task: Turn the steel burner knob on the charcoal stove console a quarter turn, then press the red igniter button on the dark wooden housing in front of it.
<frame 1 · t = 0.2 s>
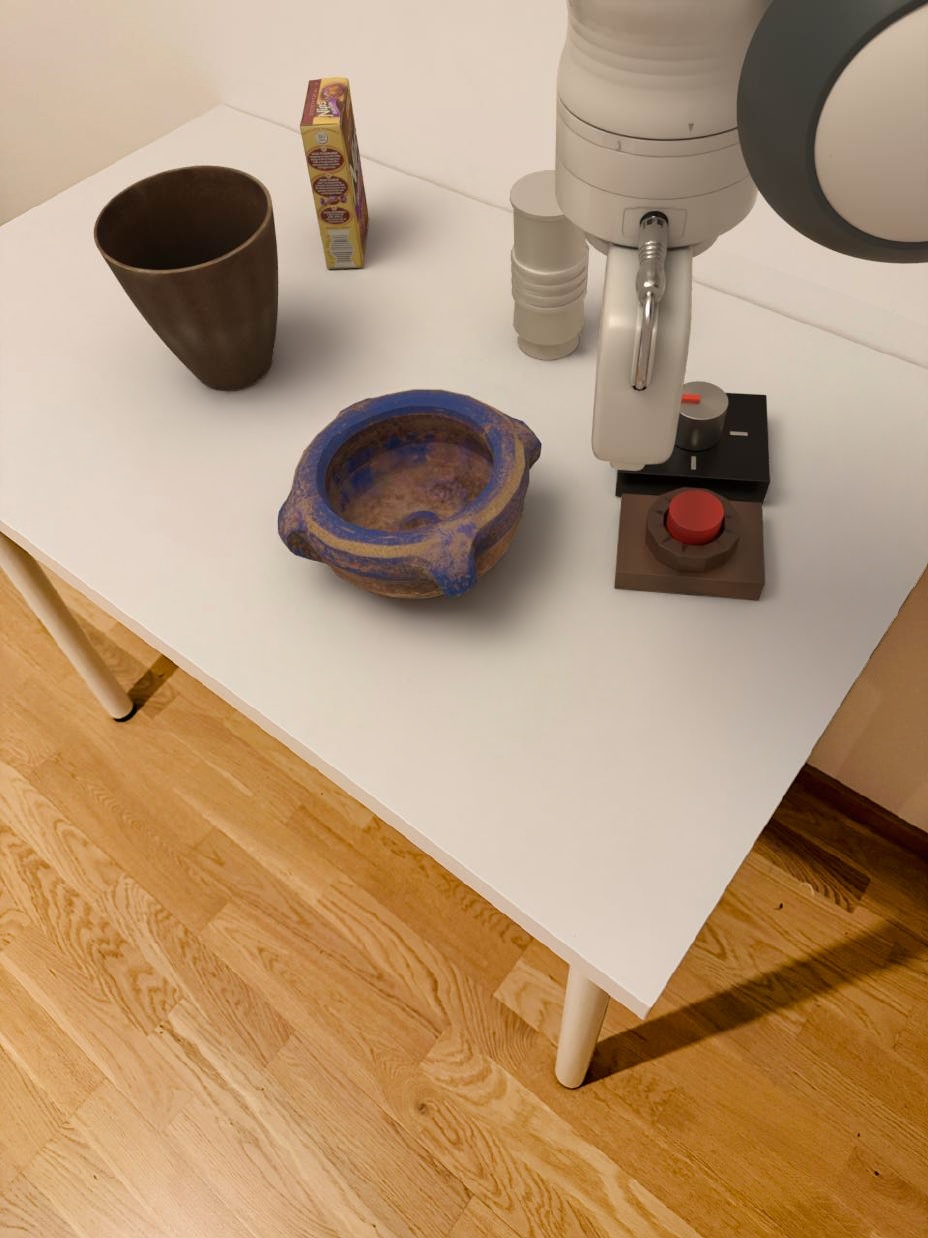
hand: (631, 398, 50), 23 cm above the table, tool pointing down, fingers open, 8 cm apart
flower pot: (236, 367, 89), on the table
burner knob: (697, 414, 74), point 5 cm above the table, hinge at 0.0°
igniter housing: (686, 553, 72), on the table
stove console: (689, 457, 78), on the table
bowl: (420, 544, 75), on the table
candy box: (350, 246, 98), on the table
igniter button: (694, 517, 68), point 4 cm above the table, slide at 0.1 cm
beige ribbed cylinder: (548, 340, 88), on the table
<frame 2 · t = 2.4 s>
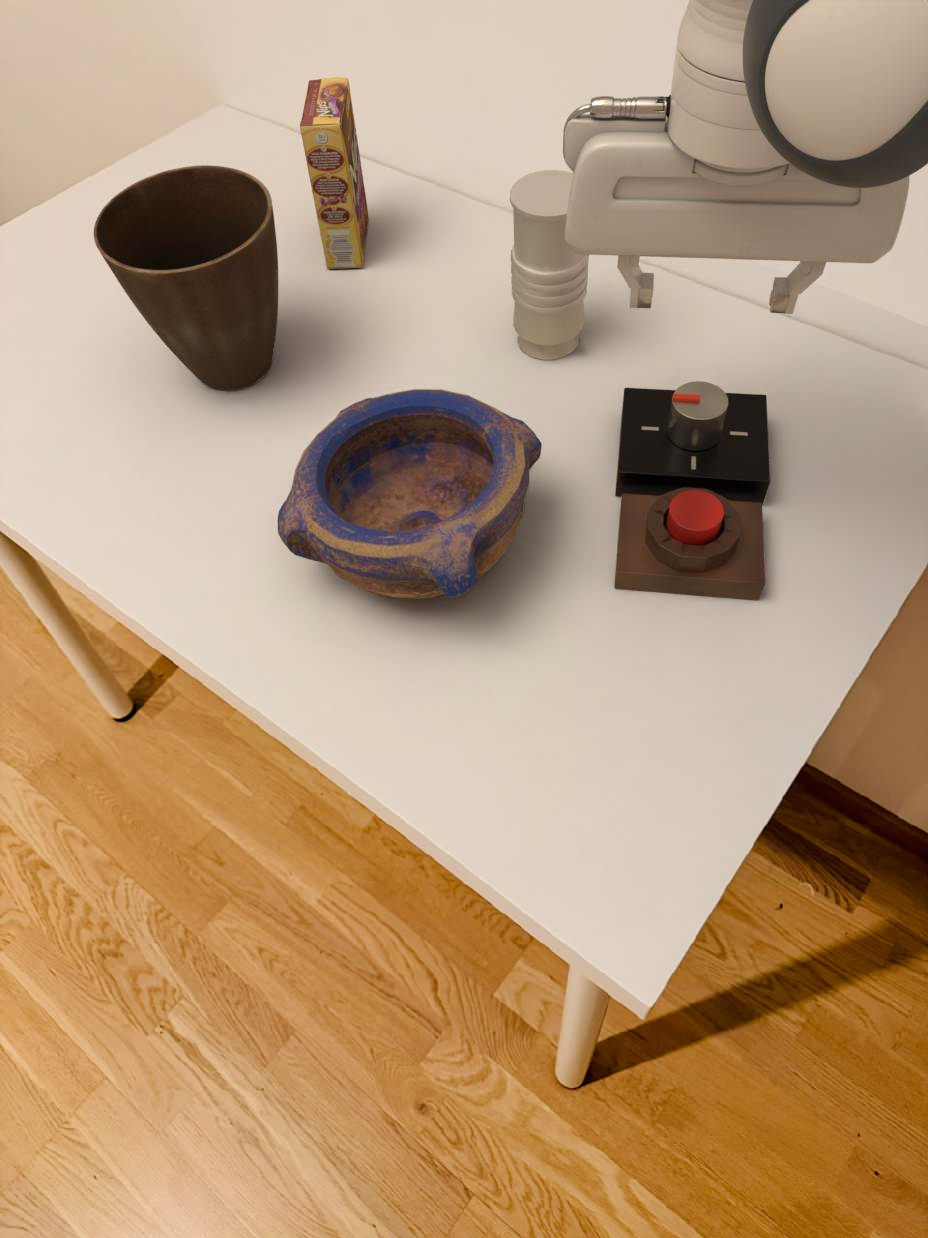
hand: (709, 305, 62), 17 cm above the table, tool pointing down, fingers open, 8 cm apart
nothing on the table moved.
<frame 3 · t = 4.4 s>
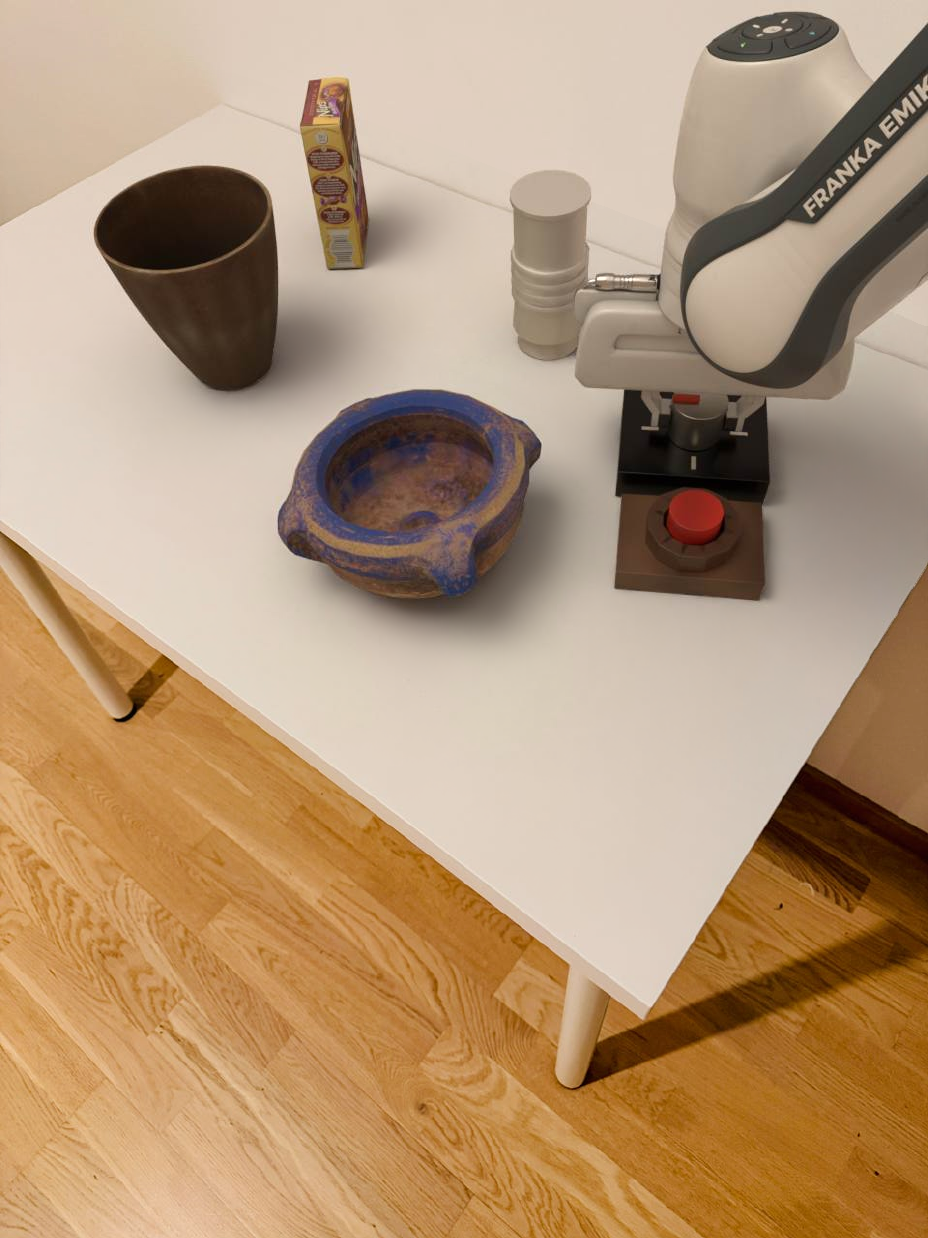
hand: (696, 424, 74), 4 cm above the table, tool pointing down, fingers closed on burner knob, 4 cm apart
burner knob: (697, 414, 74), point 5 cm above the table, hinge at -0.2°, touching gripper
everything else where it was.
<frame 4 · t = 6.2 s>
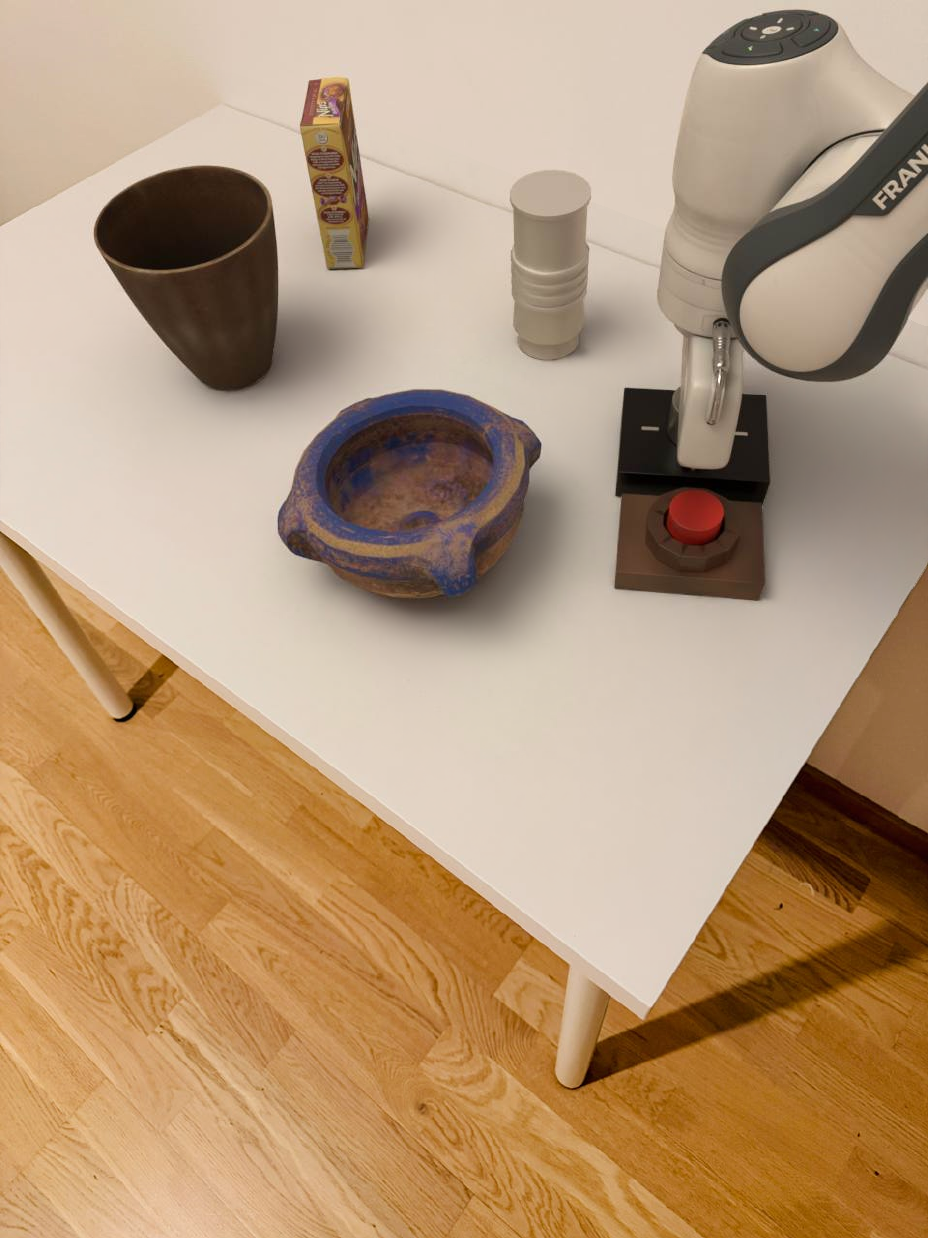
hand: (695, 423, 74), 4 cm above the table, tool pointing down, fingers closed on burner knob, 4 cm apart
burner knob: (697, 414, 74), point 5 cm above the table, hinge at 87.9°, touching gripper
everything else where it was.
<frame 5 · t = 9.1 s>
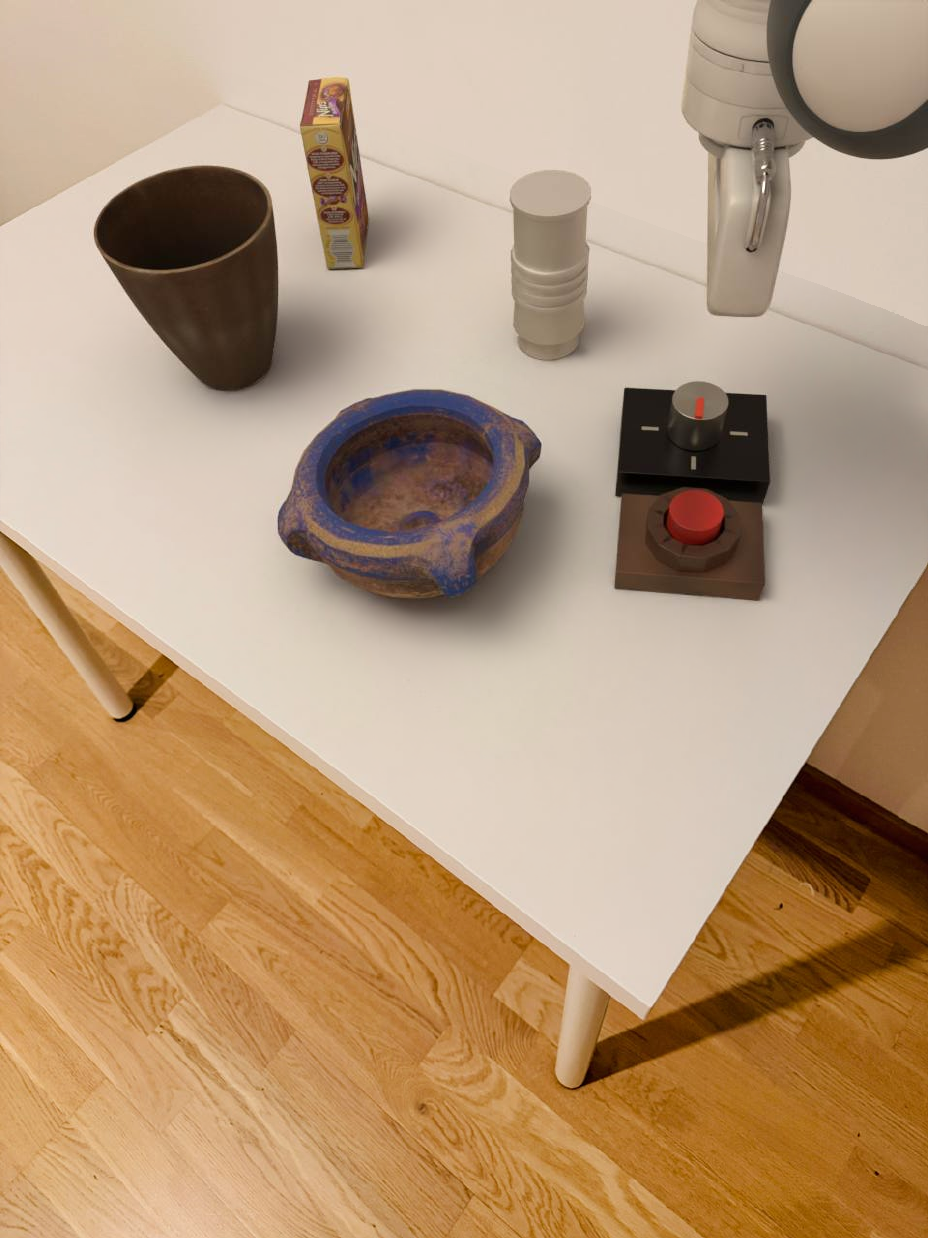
hand: (722, 285, 63), 17 cm above the table, tool pointing down, fingers closed
burner knob: (697, 414, 74), point 5 cm above the table, hinge at 86.7°
everything else where it was.
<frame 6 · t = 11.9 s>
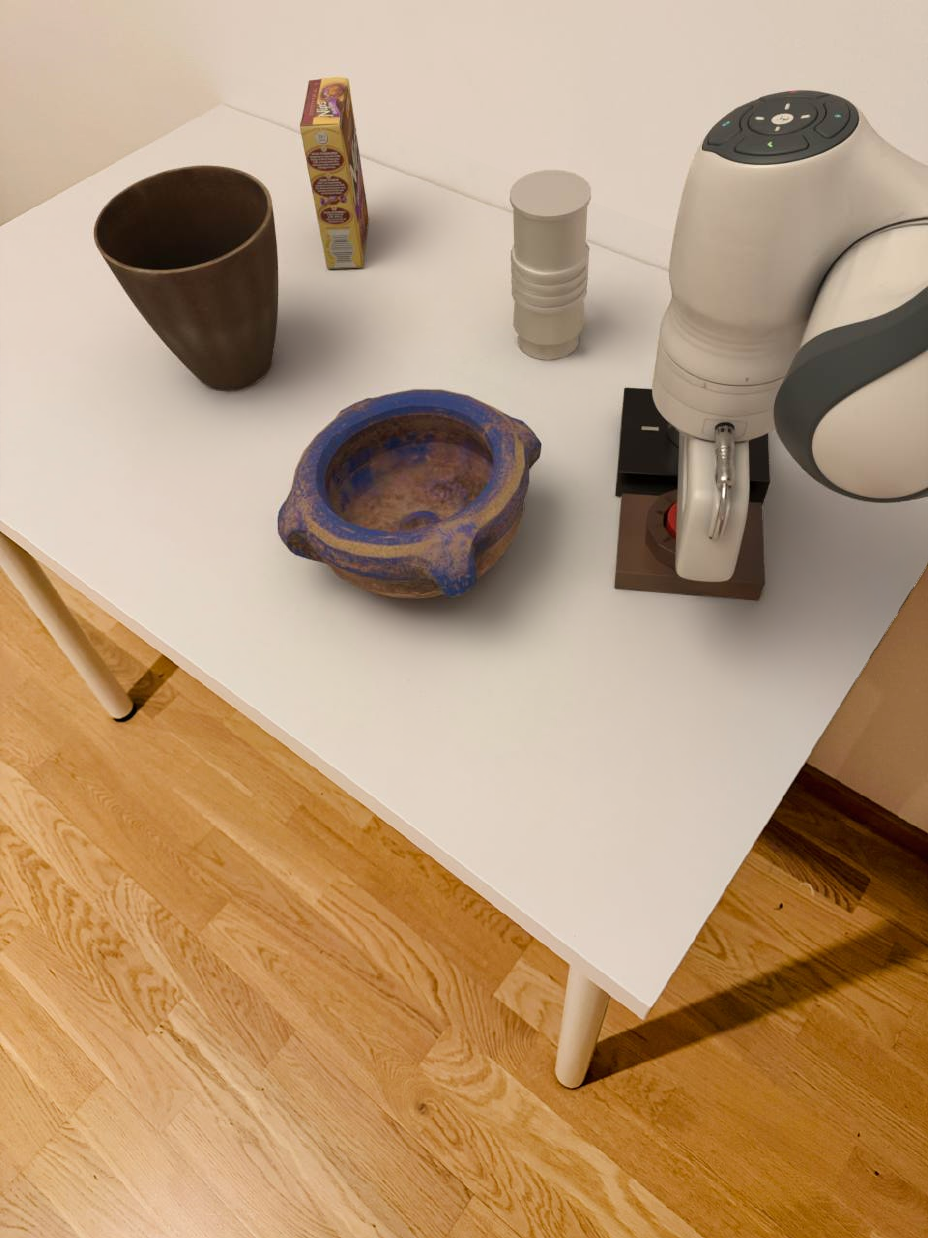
hand: (693, 516, 68), 5 cm above the table, tool pointing down, fingers closed, pressing on igniter button
igniter button: (693, 524, 69), point 4 cm above the table, slide at -0.8 cm, touching gripper
everything else where it was.
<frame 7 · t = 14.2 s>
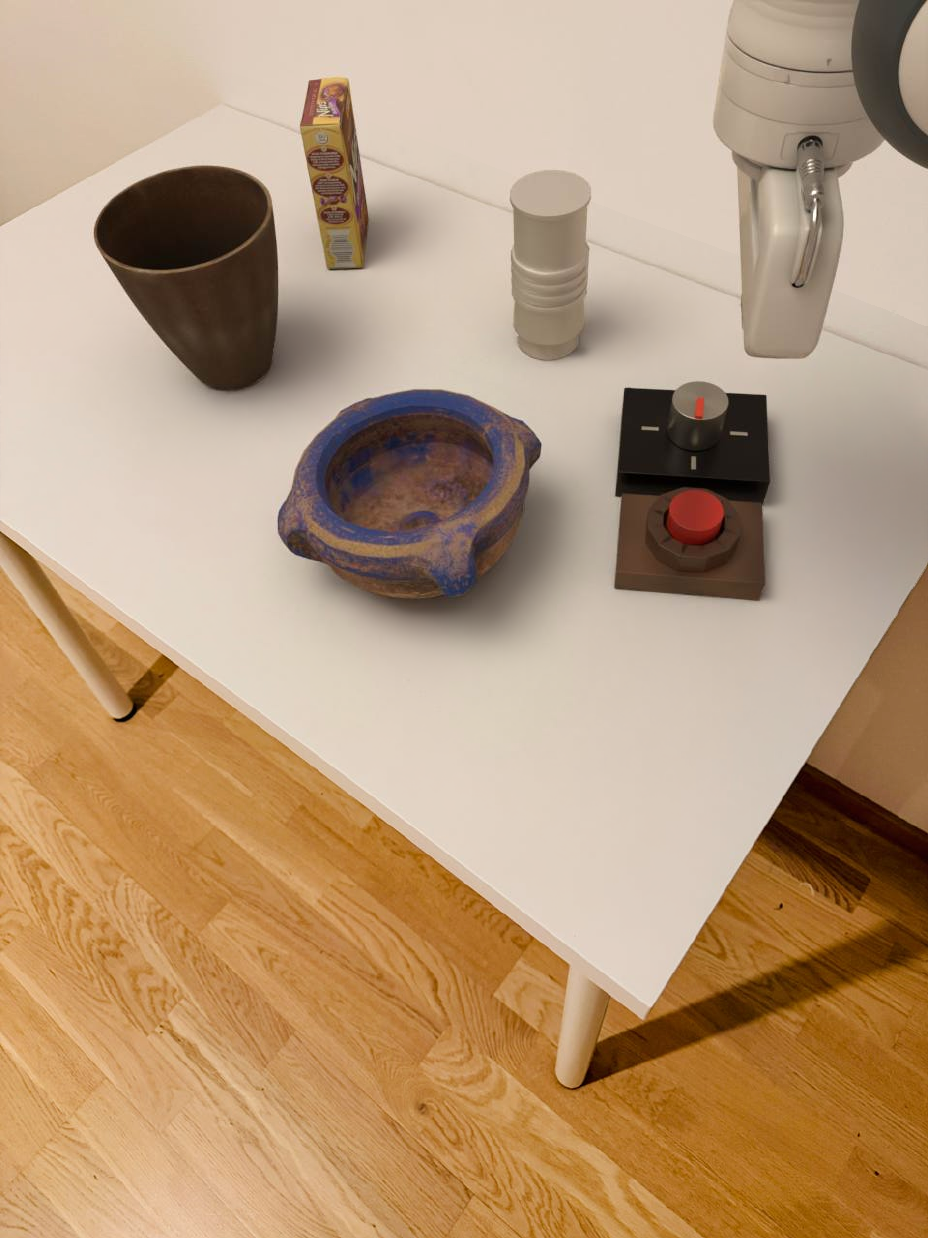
hand: (754, 318, 57), 20 cm above the table, tool pointing down, fingers closed
igniter button: (694, 517, 68), point 4 cm above the table, slide at 0.1 cm
everything else where it was.
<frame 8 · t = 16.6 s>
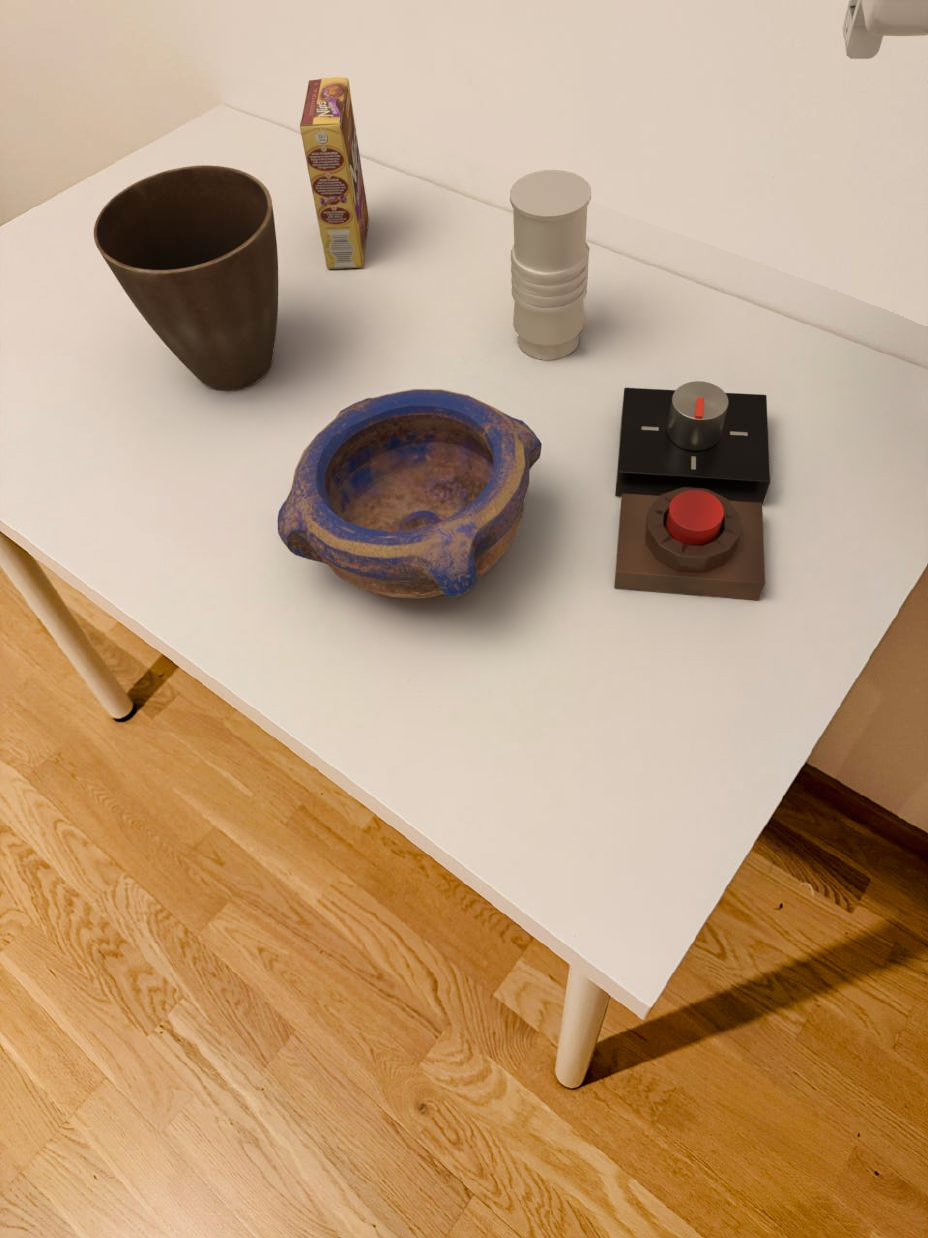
hand: (858, 46, 53), 31 cm above the table, tool pointing down, fingers closed
nothing on the table moved.
at the end: burner knob at +87° (first picture: +0°); igniter button pushed in 1.0 cm at the most during the clip, back to where it started at the end; igniter button slide at 0.1 cm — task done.
